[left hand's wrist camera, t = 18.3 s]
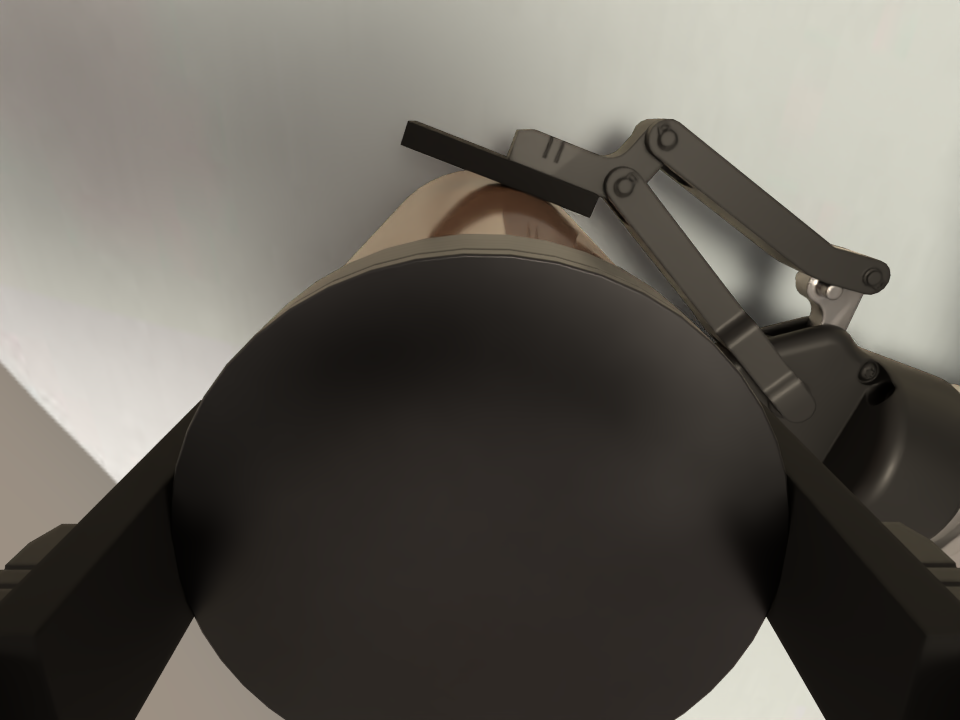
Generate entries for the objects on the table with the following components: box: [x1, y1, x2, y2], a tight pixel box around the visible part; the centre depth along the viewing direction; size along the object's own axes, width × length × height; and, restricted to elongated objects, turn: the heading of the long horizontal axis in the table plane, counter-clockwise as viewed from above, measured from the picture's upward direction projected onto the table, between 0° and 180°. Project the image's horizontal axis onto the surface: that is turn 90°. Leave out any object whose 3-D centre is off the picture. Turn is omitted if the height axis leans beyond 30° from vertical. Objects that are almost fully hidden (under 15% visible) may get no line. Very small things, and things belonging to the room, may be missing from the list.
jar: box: [344, 170, 615, 266], centre depth 21 cm, size 10×10×19 cm
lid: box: [171, 234, 790, 720], centre depth 11 cm, size 10×10×2 cm
